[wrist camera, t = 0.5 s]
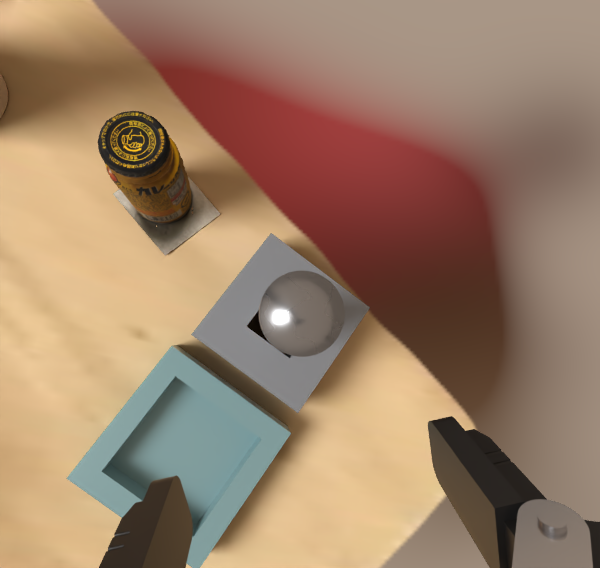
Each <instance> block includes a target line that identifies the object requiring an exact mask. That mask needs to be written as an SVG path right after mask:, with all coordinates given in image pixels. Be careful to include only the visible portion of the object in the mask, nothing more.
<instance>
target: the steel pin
mask: <svg viewBox="0 0 600 568" xmlns="http://www.w3.org/2000/svg"><path fill="white" fill-rule="evenodd" d="M344 319H345V310H344V304H343V300H342V298H341V295H340V293H339V292H338V290H337V289H336V287H335V286H334V285H333V284H332V283H331V282H330V281H329V280H328V279H326V278H325V277H323V276H322V275H320V274H317V273H314V272H311V271H303V270H301V271H293V272H289V273H286V274H284V275H282V276H280V277H279V278H277V279H276V280H275V281H273V282H272V283H271V284H270V286H269V287H268V288H267V290H266V291H265V293H264V295H263V297H262V299H261V302H260V307H259V322H260V326H261V330H262V332H263V334H264V336H265V337H266V339H267V340H268V341H269V342H270V343H271V344H272V345H273V346H274V347H275V348H276V349H278V350H280V351H281V352H284V353H286V354H289V355H292V356H297V357H307V356H313V355H316V354H319V353H321V352H323V351H325V350H326V349H328V348H329V347H330V346H331V345H332V344H333V343H334V342H335V341H336V339H337V338H338V336H339V335H340V333H341V330H342V328H343V324H344Z"/></svg>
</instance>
